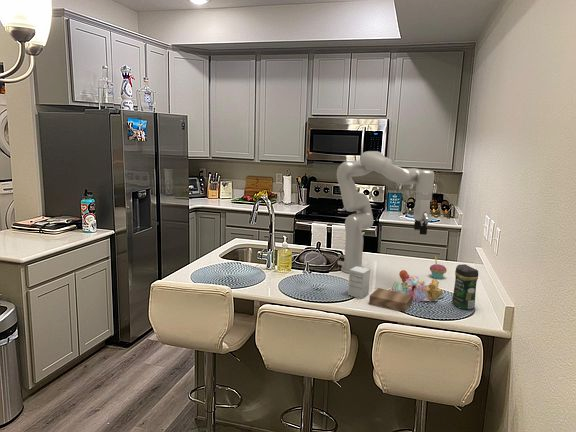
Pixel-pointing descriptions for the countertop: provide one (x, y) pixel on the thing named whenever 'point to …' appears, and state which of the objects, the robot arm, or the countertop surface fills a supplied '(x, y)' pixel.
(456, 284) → the coffee jar
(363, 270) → the supplement box
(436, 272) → the cupcake
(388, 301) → the walnut base
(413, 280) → the candy landscape model
